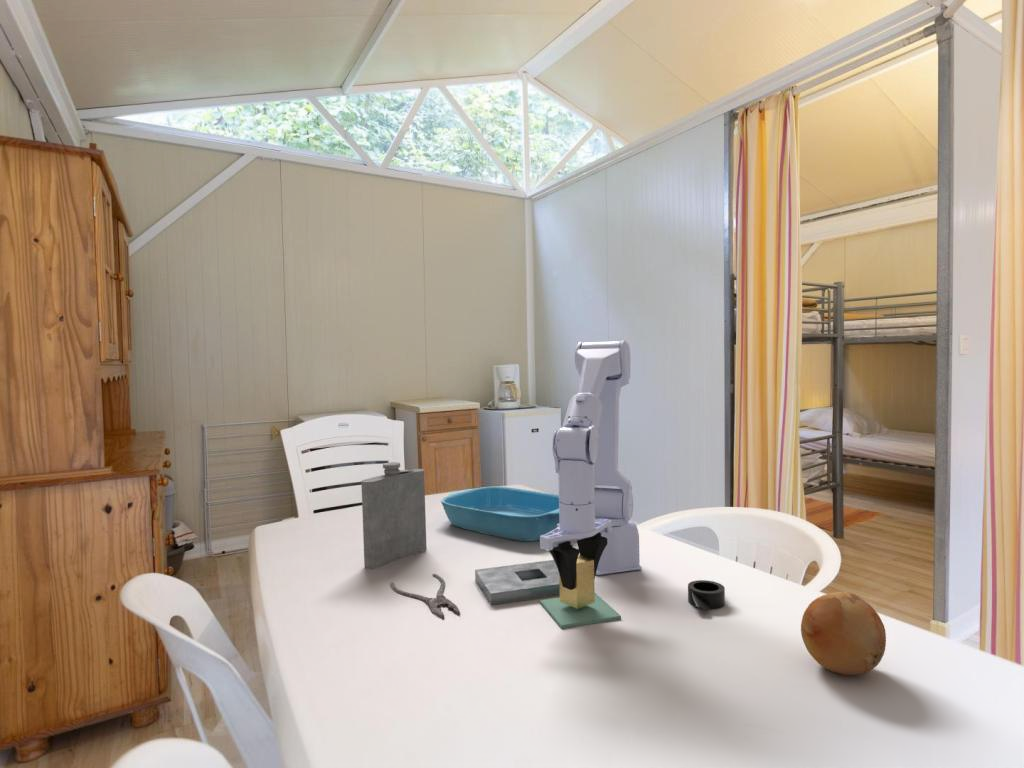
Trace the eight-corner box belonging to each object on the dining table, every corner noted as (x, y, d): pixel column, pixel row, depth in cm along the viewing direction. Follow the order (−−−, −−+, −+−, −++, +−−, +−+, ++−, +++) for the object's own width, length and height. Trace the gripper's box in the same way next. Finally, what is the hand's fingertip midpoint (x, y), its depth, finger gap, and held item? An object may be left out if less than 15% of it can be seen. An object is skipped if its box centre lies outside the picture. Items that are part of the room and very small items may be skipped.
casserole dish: (425, 525, 152) (424, 497, 151) (485, 507, 168) (484, 481, 168) (539, 553, 128) (539, 519, 127) (597, 528, 144) (596, 499, 144)
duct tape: (667, 603, 100) (667, 586, 100) (707, 589, 105) (707, 573, 105) (705, 619, 94) (704, 601, 93) (745, 604, 99) (745, 586, 99)
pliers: (430, 570, 117) (492, 600, 101) (430, 574, 117) (492, 605, 101) (384, 583, 111) (444, 617, 95) (385, 587, 111) (444, 622, 95)
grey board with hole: (565, 568, 117) (565, 558, 117) (590, 590, 105) (589, 579, 105) (475, 580, 112) (474, 569, 112) (491, 605, 100) (490, 593, 100)
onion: (825, 644, 84) (825, 574, 84) (902, 674, 76) (902, 597, 75) (784, 664, 79) (784, 590, 79) (862, 699, 71) (862, 616, 70)
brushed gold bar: (577, 594, 100) (576, 553, 100) (594, 602, 97) (593, 559, 97) (559, 601, 98) (558, 559, 98) (577, 608, 95) (576, 565, 94)
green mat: (594, 595, 104) (594, 592, 104) (621, 618, 94) (620, 615, 94) (539, 603, 101) (539, 600, 101) (561, 628, 91) (561, 625, 91)
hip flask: (371, 570, 119) (367, 470, 118) (358, 566, 122) (354, 468, 121) (429, 548, 132) (426, 458, 131) (417, 545, 134) (414, 456, 133)
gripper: (590, 490, 104) (591, 567, 105) (526, 504, 95) (528, 588, 96) (621, 496, 99) (622, 577, 99) (556, 512, 90) (558, 601, 90)
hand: (578, 584), depth 97 cm, fingers closed on brushed gold bar, 4 cm apart
